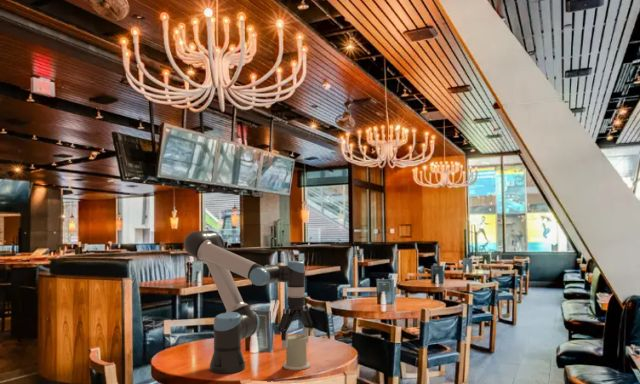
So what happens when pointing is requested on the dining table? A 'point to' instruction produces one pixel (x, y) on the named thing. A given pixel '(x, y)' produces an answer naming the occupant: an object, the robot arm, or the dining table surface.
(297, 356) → the can
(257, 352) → the dining table surface
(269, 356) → the dining table surface
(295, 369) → the disc
